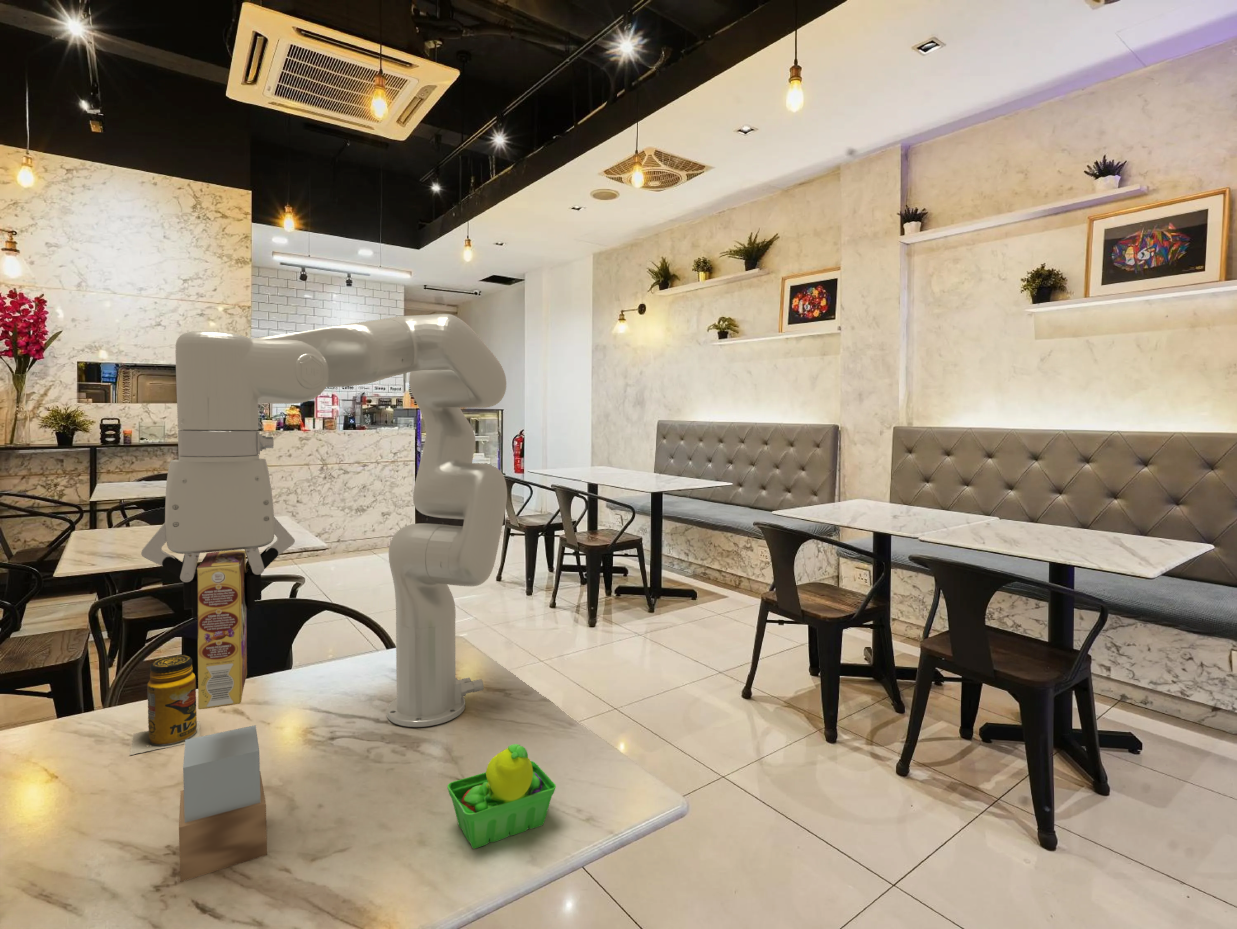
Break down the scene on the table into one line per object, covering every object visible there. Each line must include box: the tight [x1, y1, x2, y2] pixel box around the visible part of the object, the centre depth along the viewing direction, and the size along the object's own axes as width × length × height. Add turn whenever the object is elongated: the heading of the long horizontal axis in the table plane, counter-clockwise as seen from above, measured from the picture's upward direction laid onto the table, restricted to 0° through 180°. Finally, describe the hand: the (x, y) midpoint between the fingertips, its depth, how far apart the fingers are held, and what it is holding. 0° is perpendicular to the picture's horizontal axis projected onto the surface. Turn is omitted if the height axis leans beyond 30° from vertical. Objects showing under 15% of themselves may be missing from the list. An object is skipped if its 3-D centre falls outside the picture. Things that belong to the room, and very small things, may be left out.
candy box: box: [196, 549, 248, 710], centre depth 71 cm, size 9×4×15 cm, turn 27°
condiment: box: [129, 654, 201, 756], centre depth 97 cm, size 7×8×12 cm
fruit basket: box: [446, 743, 557, 849], centre depth 76 cm, size 11×9×11 cm
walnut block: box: [178, 771, 268, 883], centre depth 73 cm, size 8×8×6 cm
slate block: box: [182, 724, 261, 823], centre depth 72 cm, size 7×7×6 cm
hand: (223, 609), depth 71 cm, fingers closed on candy box, 4 cm apart
